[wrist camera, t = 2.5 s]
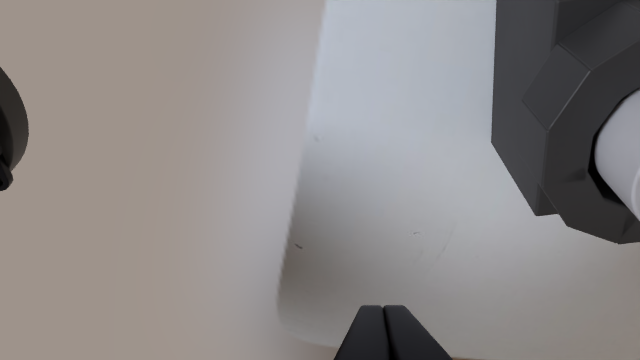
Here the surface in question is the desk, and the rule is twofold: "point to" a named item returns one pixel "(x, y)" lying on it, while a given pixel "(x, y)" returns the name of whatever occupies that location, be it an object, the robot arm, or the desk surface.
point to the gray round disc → (621, 151)
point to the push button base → (564, 104)
